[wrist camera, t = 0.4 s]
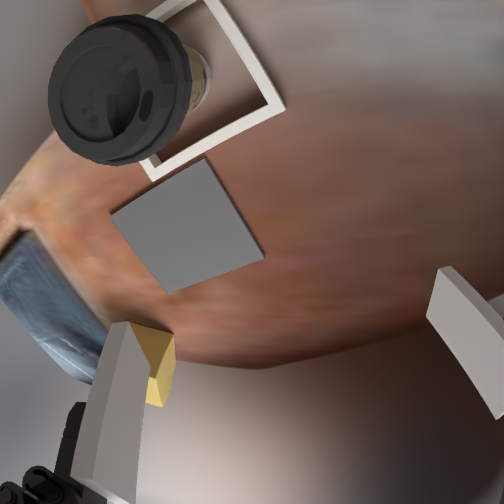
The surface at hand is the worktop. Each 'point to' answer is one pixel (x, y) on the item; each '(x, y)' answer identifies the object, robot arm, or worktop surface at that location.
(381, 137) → the worktop surface
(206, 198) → the rubber mat
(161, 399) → the cheese
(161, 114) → the coffee cup
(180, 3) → the holder frame
